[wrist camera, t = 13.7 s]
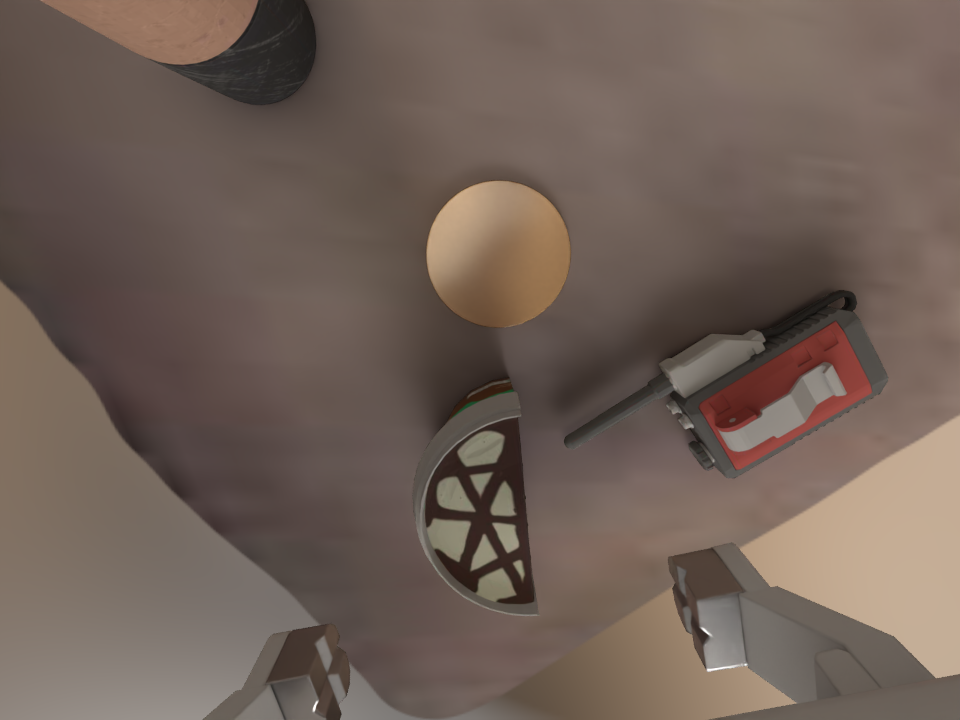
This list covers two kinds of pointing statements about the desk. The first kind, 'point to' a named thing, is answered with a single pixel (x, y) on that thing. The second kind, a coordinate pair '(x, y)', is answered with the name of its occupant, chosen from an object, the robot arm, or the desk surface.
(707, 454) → the walkie-talkie
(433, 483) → the food container
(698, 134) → the desk surface
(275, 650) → the robot arm
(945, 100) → the desk surface
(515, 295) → the cork coaster
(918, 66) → the desk surface
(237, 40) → the travel mug
